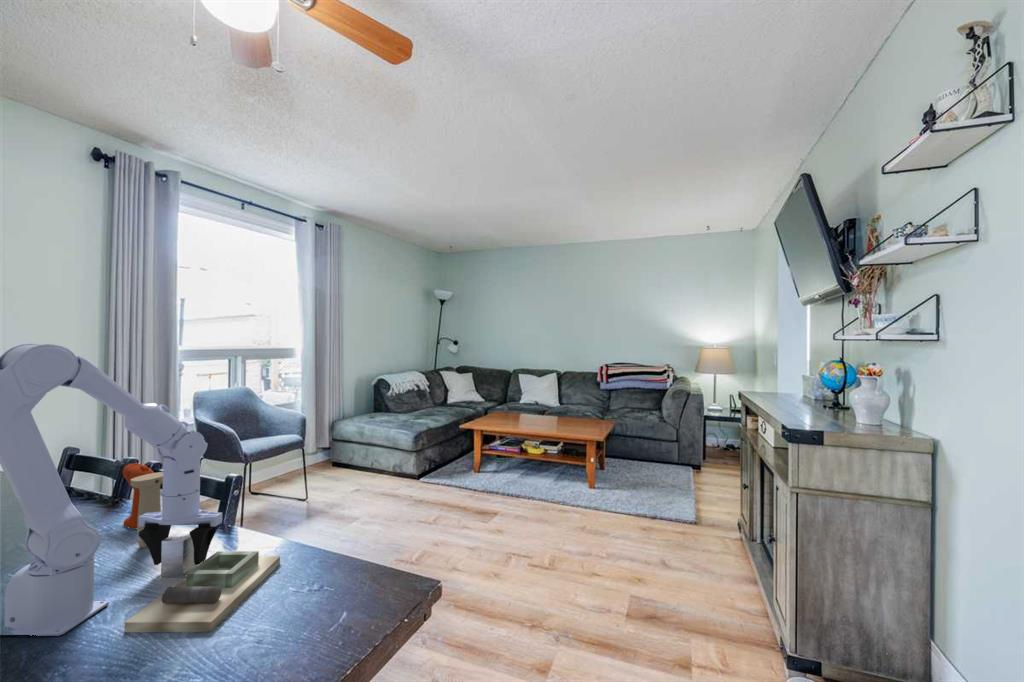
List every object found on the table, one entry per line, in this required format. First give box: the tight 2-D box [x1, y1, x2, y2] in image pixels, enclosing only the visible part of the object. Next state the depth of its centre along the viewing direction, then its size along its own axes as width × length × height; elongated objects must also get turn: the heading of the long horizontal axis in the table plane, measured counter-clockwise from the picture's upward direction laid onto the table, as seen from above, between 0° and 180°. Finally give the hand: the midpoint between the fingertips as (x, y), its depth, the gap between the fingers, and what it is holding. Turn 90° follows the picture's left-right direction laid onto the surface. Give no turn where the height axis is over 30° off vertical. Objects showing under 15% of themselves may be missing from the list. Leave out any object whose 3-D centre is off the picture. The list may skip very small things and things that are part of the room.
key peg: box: [160, 531, 198, 579], centre depth 81 cm, size 4×4×7 cm
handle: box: [130, 471, 163, 549], centre depth 92 cm, size 5×6×15 cm
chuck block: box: [124, 550, 281, 633], centre depth 74 cm, size 13×20×4 cm, turn 1°
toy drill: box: [114, 459, 155, 529], centre depth 104 cm, size 5×19×15 cm, turn 62°
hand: (180, 562), depth 81 cm, fingers open, 7 cm apart
